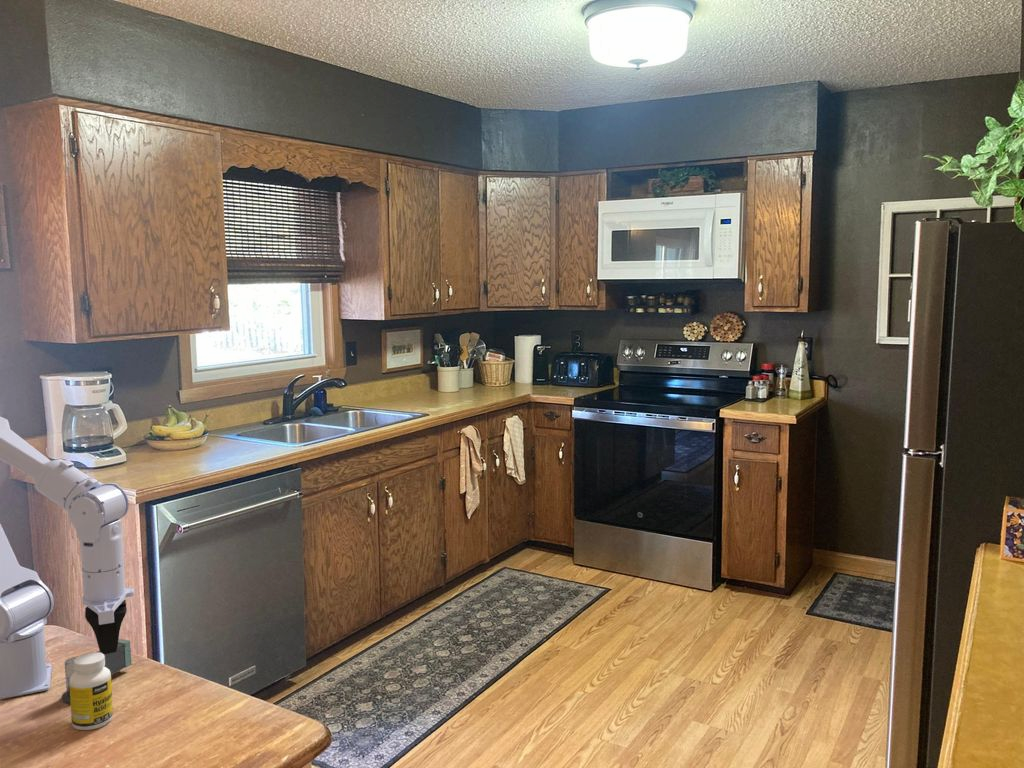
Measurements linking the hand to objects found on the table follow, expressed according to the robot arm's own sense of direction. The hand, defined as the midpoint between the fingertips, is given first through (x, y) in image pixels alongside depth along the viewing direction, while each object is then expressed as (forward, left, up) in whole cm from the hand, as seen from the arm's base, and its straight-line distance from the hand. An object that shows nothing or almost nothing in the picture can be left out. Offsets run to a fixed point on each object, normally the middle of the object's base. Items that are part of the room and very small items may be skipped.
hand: (108, 651), depth 129 cm
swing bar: (-5, -2, -6) cm, 9 cm away
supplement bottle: (+6, -3, -8) cm, 10 cm away
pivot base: (-3, -5, -7) cm, 9 cm away
